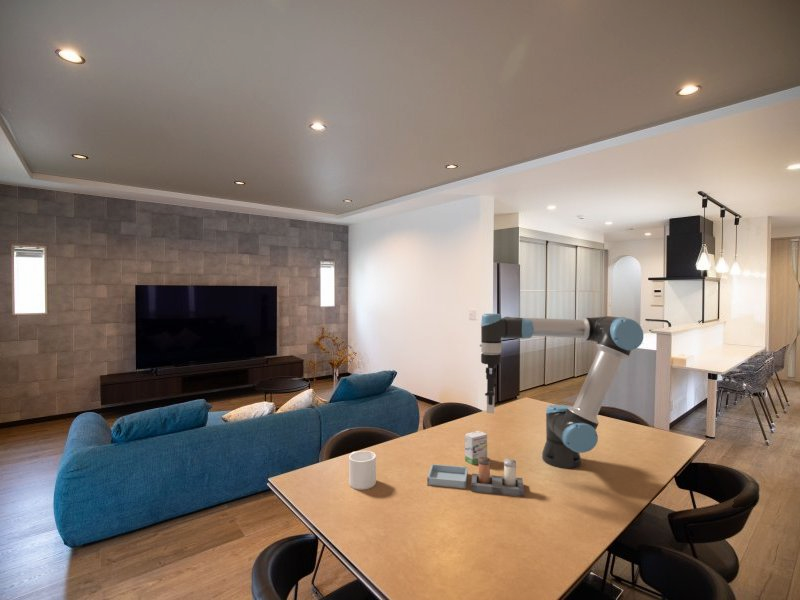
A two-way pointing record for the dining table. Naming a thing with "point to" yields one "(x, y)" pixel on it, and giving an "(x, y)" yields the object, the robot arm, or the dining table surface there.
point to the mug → (362, 470)
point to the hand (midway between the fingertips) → (490, 407)
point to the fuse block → (497, 486)
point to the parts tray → (447, 476)
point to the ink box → (475, 446)
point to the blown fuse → (484, 470)
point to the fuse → (510, 472)
